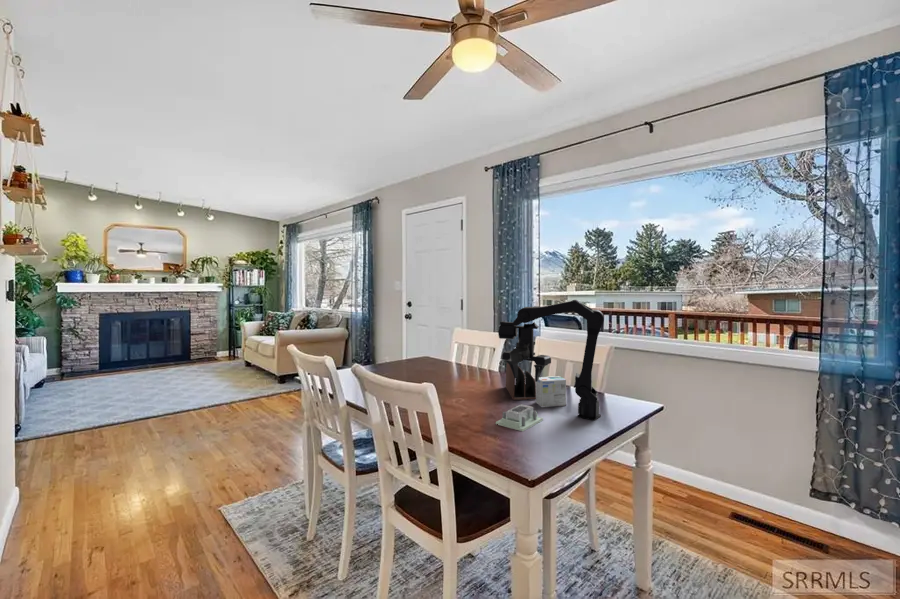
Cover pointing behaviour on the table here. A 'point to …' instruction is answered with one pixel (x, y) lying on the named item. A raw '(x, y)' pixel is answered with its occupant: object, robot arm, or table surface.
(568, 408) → the table surface
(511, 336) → the robot arm
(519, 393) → the letter holder
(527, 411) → the block
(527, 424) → the tray
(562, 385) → the light bulb box
